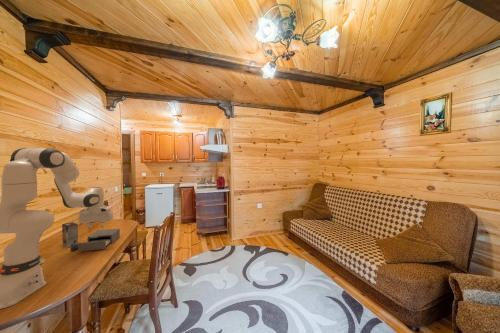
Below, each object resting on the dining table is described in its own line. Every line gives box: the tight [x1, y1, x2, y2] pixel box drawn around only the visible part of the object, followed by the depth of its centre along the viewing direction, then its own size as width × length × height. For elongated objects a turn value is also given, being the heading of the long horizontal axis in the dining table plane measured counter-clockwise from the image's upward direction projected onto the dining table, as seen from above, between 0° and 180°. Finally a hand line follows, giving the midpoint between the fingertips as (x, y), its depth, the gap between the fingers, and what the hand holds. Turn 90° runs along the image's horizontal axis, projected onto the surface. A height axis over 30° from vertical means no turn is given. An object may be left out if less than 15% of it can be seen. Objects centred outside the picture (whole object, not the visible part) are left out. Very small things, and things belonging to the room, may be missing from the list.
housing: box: [87, 228, 121, 245], centre depth 149 cm, size 14×16×7 cm
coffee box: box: [61, 221, 79, 249], centre depth 142 cm, size 9×6×16 cm
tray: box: [77, 239, 111, 252], centre depth 138 cm, size 14×16×5 cm
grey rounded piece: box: [69, 244, 78, 253], centre depth 133 cm, size 4×4×4 cm
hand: (96, 227), depth 137 cm, fingers open, 6 cm apart
